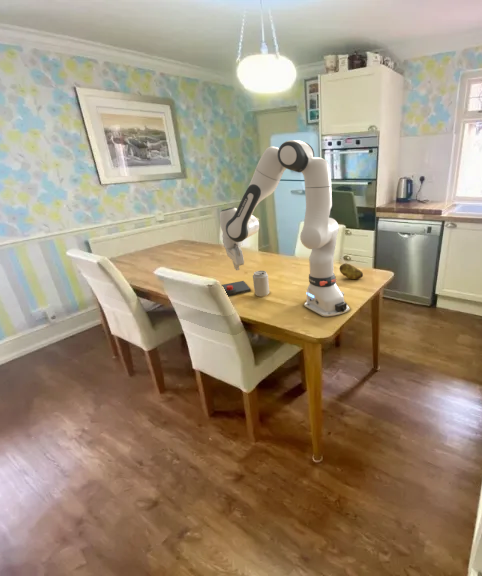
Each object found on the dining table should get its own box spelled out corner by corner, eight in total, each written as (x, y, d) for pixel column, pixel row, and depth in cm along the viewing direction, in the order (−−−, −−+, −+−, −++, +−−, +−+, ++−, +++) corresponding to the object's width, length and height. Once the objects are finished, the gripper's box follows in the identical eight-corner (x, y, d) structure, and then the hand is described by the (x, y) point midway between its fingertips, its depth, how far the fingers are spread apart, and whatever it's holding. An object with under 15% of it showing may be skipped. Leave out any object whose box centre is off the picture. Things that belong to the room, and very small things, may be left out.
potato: (356, 282, 174) (356, 268, 171) (337, 277, 182) (337, 264, 179) (364, 278, 180) (364, 264, 177) (345, 273, 187) (345, 260, 184)
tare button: (233, 289, 162) (233, 286, 162) (227, 291, 161) (227, 287, 160) (232, 287, 165) (231, 284, 164) (226, 289, 164) (225, 285, 163)
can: (266, 297, 158) (264, 275, 154) (252, 296, 160) (249, 274, 155) (271, 291, 165) (269, 270, 161) (258, 291, 167) (255, 269, 162)
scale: (251, 292, 166) (250, 286, 165) (226, 297, 160) (225, 291, 159) (243, 282, 178) (242, 277, 177) (220, 287, 173) (219, 282, 171)
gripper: (245, 245, 146) (249, 274, 151) (234, 237, 163) (238, 263, 168) (231, 247, 143) (235, 276, 148) (221, 239, 160) (226, 265, 165)
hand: (236, 269), depth 158 cm, fingers closed
